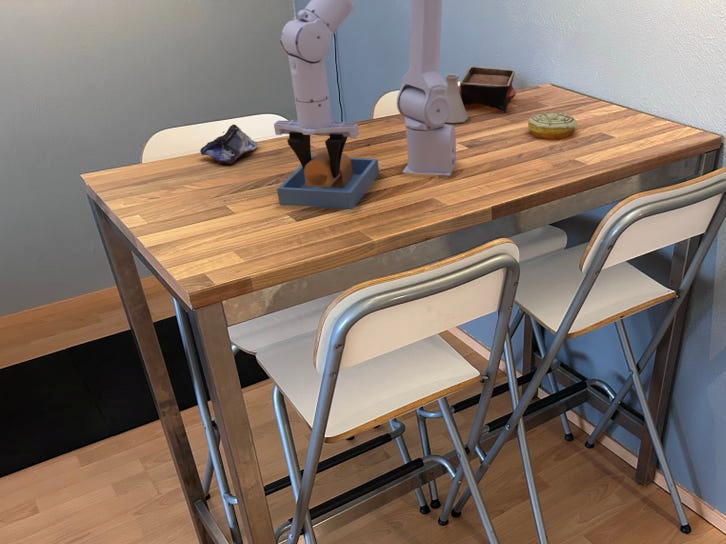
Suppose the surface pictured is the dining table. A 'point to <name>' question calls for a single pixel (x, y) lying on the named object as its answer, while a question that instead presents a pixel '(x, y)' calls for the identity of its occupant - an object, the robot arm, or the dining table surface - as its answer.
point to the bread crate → (329, 197)
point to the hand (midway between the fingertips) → (322, 175)
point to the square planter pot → (487, 87)
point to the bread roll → (319, 171)
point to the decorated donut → (552, 125)
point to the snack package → (229, 146)
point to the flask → (455, 100)
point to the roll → (344, 172)
